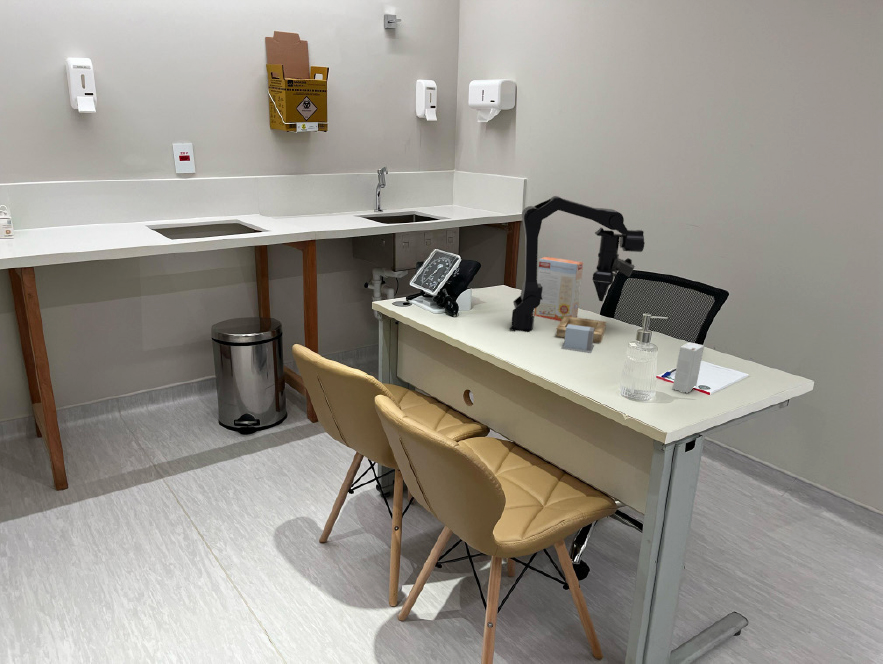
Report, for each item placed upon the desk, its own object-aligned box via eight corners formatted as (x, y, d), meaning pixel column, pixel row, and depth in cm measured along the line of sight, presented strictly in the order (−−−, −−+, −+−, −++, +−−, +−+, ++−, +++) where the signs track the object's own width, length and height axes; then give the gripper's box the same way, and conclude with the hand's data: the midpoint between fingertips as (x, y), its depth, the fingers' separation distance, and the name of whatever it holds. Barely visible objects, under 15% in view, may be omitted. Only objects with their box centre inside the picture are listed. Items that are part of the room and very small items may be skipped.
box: (563, 346, 210) (566, 327, 208) (566, 342, 214) (568, 324, 212) (590, 350, 207) (592, 331, 206) (592, 346, 212) (594, 327, 210)
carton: (554, 338, 218) (556, 327, 217) (563, 325, 233) (564, 315, 232) (599, 345, 214) (601, 334, 213) (605, 331, 229) (606, 320, 228)
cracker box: (577, 320, 241) (584, 261, 234) (570, 324, 236) (577, 264, 229) (540, 313, 248) (546, 255, 241) (533, 316, 243) (539, 257, 237)
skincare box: (680, 384, 185) (687, 341, 182) (697, 388, 183) (704, 345, 179) (671, 389, 181) (678, 345, 177) (688, 394, 178) (695, 350, 175)
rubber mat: (560, 349, 208) (560, 348, 208) (565, 341, 216) (565, 340, 216) (590, 354, 205) (591, 353, 205) (594, 346, 214) (594, 344, 213)
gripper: (632, 257, 208) (625, 308, 213) (636, 248, 225) (630, 295, 230) (595, 253, 211) (589, 303, 216) (601, 244, 228) (596, 290, 233)
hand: (602, 298), depth 223 cm, fingers open, 9 cm apart
